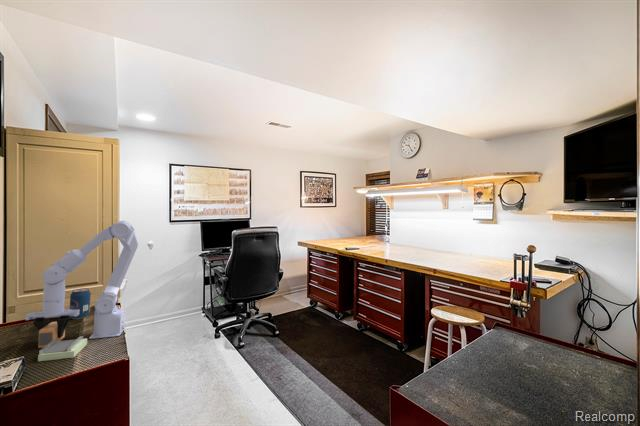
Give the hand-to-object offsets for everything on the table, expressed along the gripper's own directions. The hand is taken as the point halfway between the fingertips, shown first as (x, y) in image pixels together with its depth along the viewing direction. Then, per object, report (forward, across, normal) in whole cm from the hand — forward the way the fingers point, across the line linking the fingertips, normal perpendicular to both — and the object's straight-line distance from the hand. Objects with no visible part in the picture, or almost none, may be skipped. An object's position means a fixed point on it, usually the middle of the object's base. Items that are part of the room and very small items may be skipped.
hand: (52, 337), depth 101 cm
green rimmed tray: (+2, -8, +10) cm, 13 cm away
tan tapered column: (+2, 0, 0) cm, 2 cm away
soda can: (+2, +2, -27) cm, 27 cm away
